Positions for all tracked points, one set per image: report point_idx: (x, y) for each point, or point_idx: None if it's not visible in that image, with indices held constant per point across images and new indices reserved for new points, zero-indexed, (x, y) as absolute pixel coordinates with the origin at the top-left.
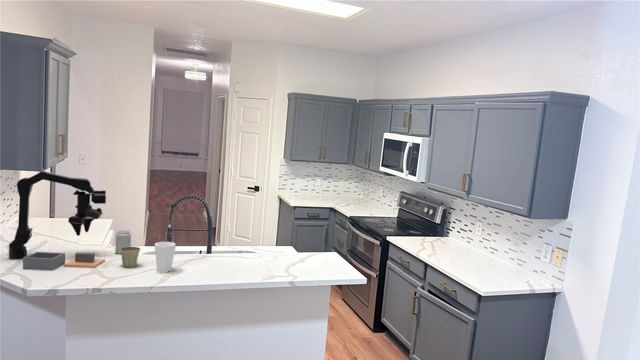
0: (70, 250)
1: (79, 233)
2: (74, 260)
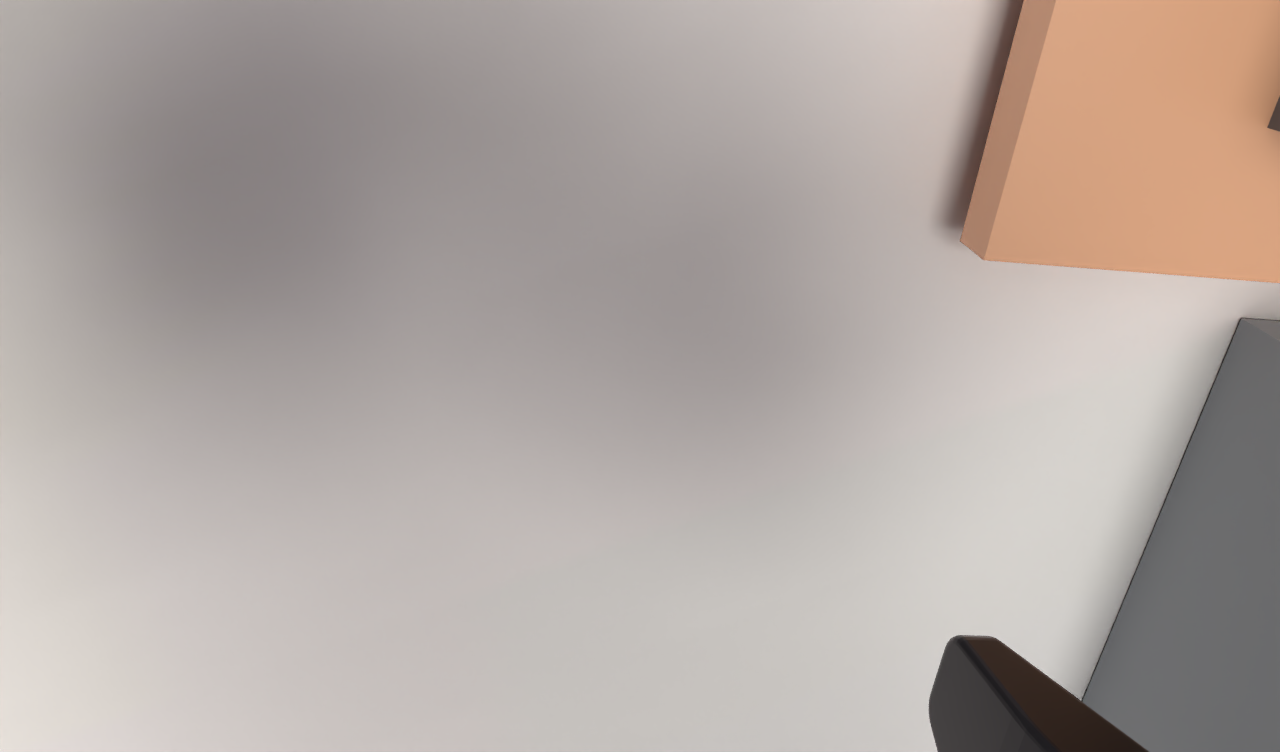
0: (20, 650)
1: (1095, 714)
2: (1232, 202)
